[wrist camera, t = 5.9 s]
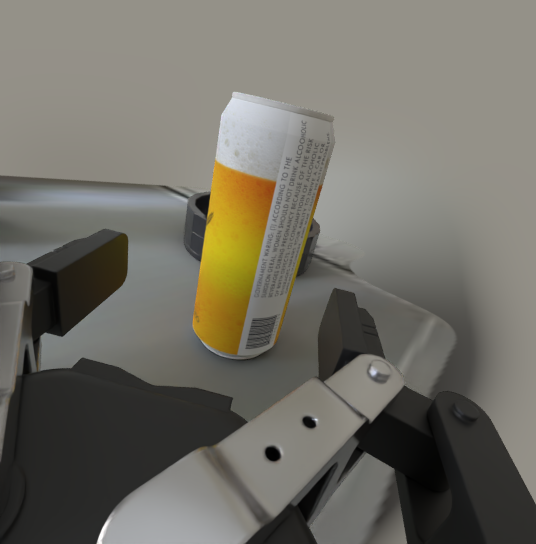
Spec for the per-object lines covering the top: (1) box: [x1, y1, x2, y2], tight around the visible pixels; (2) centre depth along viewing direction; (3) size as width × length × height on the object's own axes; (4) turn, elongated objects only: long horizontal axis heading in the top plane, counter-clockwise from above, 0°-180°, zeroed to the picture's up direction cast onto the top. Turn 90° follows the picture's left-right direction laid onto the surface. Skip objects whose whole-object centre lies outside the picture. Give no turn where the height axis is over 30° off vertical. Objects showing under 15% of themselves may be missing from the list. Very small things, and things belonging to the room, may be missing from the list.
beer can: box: [193, 92, 335, 359], centre depth 20 cm, size 6×6×15 cm
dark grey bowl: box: [184, 192, 320, 277], centre depth 37 cm, size 15×15×4 cm
